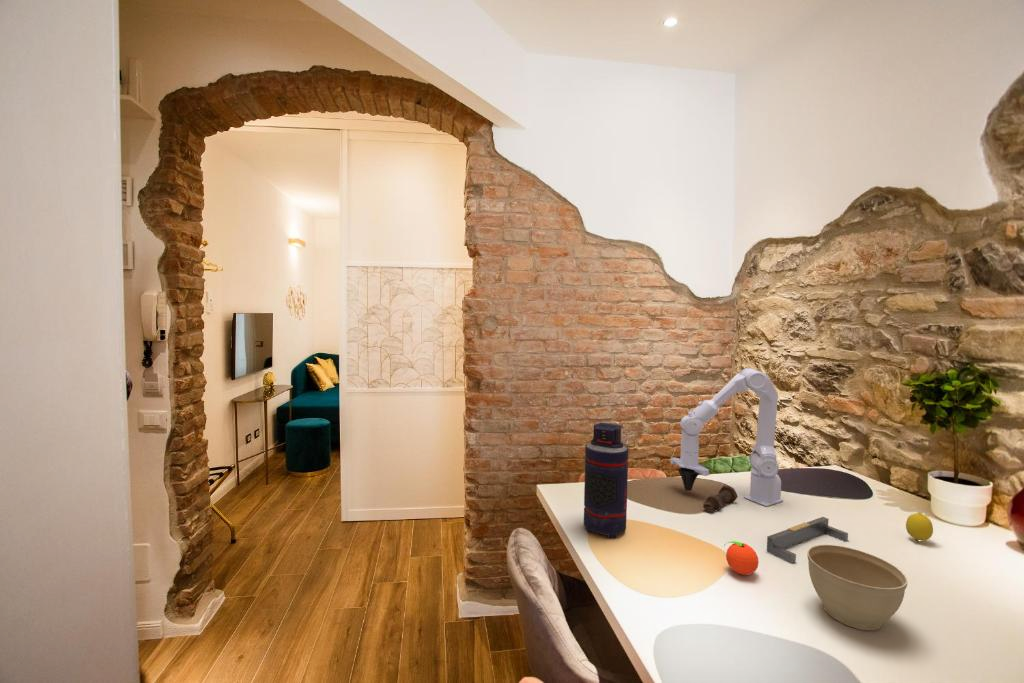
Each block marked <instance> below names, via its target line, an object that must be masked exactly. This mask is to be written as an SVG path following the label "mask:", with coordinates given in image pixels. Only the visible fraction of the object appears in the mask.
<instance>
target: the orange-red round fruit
mask: <svg viewBox="0 0 1024 683" xmlns="http://www.w3.org/2000/svg"><path fill="white" fill-rule="evenodd" d="M727 543H728V544H729V543H730V544H731V543H732V544H731V545H730V546H728V548H727V550H726V553H725V558H726V561H727V564H728V566H729V568H730V569H731V570H732V571H733V572H735V573H736V574H739V575H742V576H749V575H752V574H753V573H755V572H756V570H757V569H758V568H759V562H760V561H759V557H758V553H756V551H755V549H753V548H752V546H750V545H748V544H747V543H744V542H740V541H734V540H732V541H731V540H730V541H728V542H727ZM727 543H725V544H724V546H723V547H725V546H726V545H727Z"/></svg>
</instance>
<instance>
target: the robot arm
mask: <svg viewBox="0 0 1024 683" xmlns="http://www.w3.org/2000/svg"><path fill="white" fill-rule="evenodd" d="M749 389H750V390H752V392H753V393H755V394H756V395H757V397H758V398H759V400H758V401H759V403H758V416H757V424H756V426H757V427H756V428H757V429H756V438H755V439H756V440H755V441H756V442H755V444H754V445H753V447H752V452H751V454H749V455H750V456H749V458H748V459H749V463H750V465H751V466H752V467H751V470H750V485H749V486H750V487H749V488H750V489H749V490H750V491H749V494H747V495H744V496H743V498H745V499H747V500H748V501H752V502H754V503H757V504H760V505H762V506H765V507H768V506H771V505H775V504H778V503H781V502H784V499H782V494H781V493H782V480H781V477H780V476H779V474H778V473H779V470H780V466H779V463H778V461H777V457H778V456H777V453H776V450H775V439H776V438H775V436H776V425H777V414H778V413H777V410H778V398H779V395H778V391H777V389H776V387H775V386H774V384H773V383H772V380H771V378H770V376H768V375H767V374H765V373H764V372H763V371H760V370H757V369H754V368H751V367H746V368H743V369H742V370H740V372H739V373H736V374H735V375H734V376H733V377H732V379H730V381H728V382H727V383H726V384H725V385H724V386H723V387H722V388H721V389H720V390H719V391H718V392H717V393H716V394H715V395H714V396H713V397H712V398H711V399H705V400H703V401H702V400H701V401H699V402H698V403H697V404H698V406H696V407H695V408H694V409H693V410H692V411H688V412H687V414H688V415H684V416H683V417H682V418H681V420H680V422H679V427H680V428H681V437H680V457H679V458H678V457H676V456H675V457H670V464H671V465H676V466H679V468H678V470H677V471H678V474H680V477H681V480H682V483H683V488H684V491H687V492H690V491H693V490H692V489H693V487H694V483H695V481H696V479H697V478H698V476H699V475H702V476H704V477H707V476H710V469H709V468H706V467H704V466H702V465H701V464H700V463H699V449H700V448H699V447H700V438H699V437H700V436H699V435H700V433H701V432H702V428H703V426H705V424H707V423H708V422H709V421H710V420H711V419H712V418H713V417H715V416H716V415H718V413H719V407H721V406H722V405H723V404H724V403H726V402H727V401H728V400H730V399H731V398H732V397H733V396H734V395H735V394H736V393H739V392H741V393H742V392H748V391H749Z"/></svg>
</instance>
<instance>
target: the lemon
mask: <svg viewBox="0 0 1024 683" xmlns="http://www.w3.org/2000/svg"><path fill="white" fill-rule="evenodd" d="M905 529H906V532H907V534H908V535H909V536H910V537H912V538H913V539H915V540H916V539H917V540H922V541H928V540H929V539H930V538H931V537H932V536H933V533H934V528H933V523H932V521H931V519H929V517H927V516H926V515H924V514H923V513H921V512H917V513H913V514H910V515H909V516H908V517H907V519H906V522H905ZM917 540H916V541H917Z"/></svg>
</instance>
